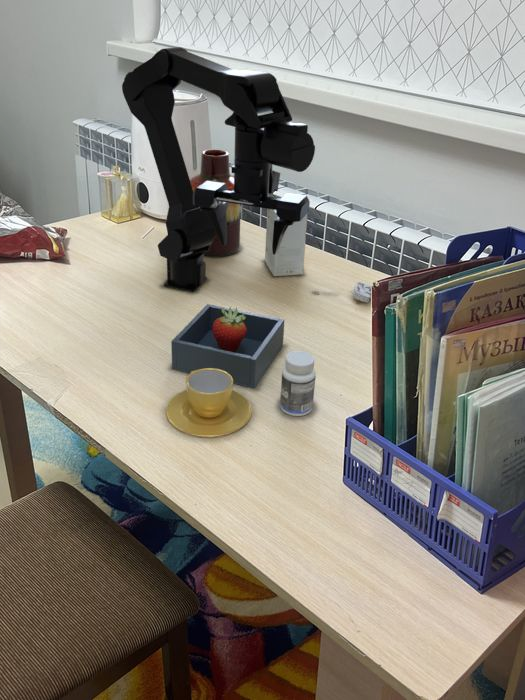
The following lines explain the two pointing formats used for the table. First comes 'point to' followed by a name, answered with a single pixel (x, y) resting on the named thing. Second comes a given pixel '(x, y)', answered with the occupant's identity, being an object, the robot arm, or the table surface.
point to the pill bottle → (298, 383)
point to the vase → (218, 171)
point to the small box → (286, 247)
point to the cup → (208, 405)
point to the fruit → (229, 330)
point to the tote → (243, 365)
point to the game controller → (361, 291)
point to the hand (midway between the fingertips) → (249, 249)
